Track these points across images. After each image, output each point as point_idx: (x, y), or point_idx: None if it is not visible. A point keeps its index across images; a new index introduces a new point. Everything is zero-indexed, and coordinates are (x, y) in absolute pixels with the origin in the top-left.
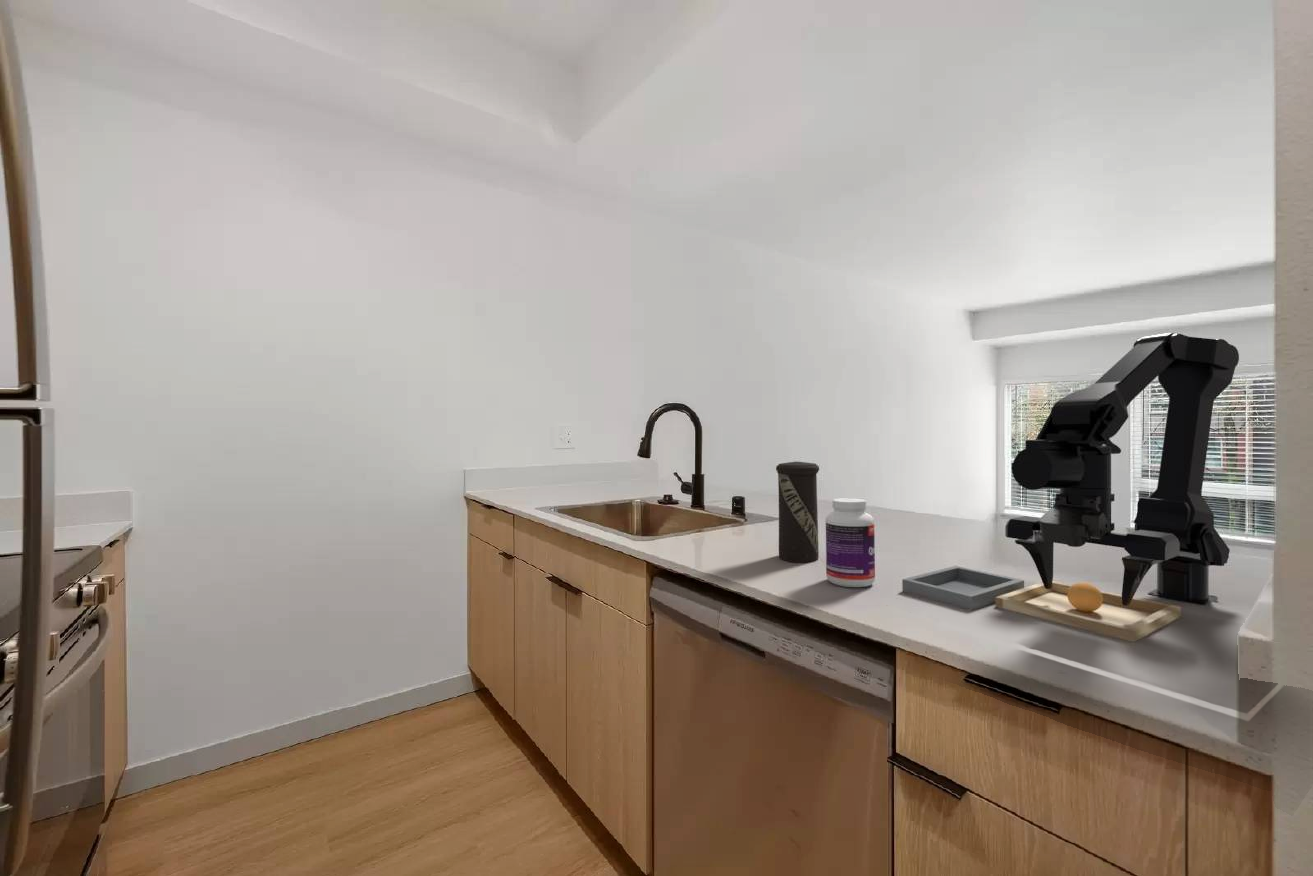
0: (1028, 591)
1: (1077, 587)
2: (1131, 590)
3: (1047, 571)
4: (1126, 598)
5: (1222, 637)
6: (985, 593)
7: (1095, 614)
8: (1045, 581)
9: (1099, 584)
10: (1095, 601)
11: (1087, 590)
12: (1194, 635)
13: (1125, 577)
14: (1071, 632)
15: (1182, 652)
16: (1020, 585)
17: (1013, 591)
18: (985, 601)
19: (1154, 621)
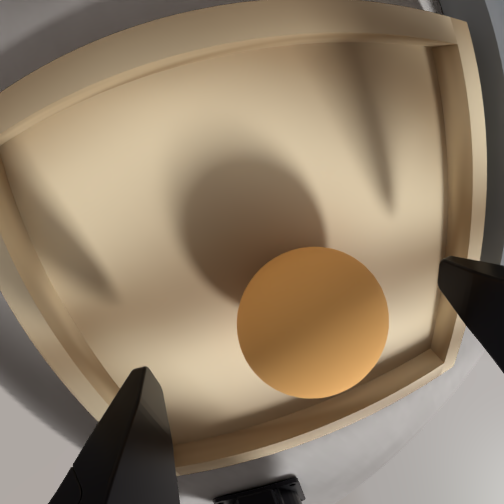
0: (467, 224)
1: (350, 312)
2: (91, 436)
3: (501, 304)
4: (122, 394)
5: (47, 422)
6: (483, 7)
7: (241, 287)
8: (471, 266)
9: (378, 449)
10: (243, 312)
11: (295, 329)
12: (53, 393)
13: (95, 498)
14: (146, 13)
15: None
16: (491, 254)
17: (486, 159)
18: (461, 10)
19: (35, 342)
